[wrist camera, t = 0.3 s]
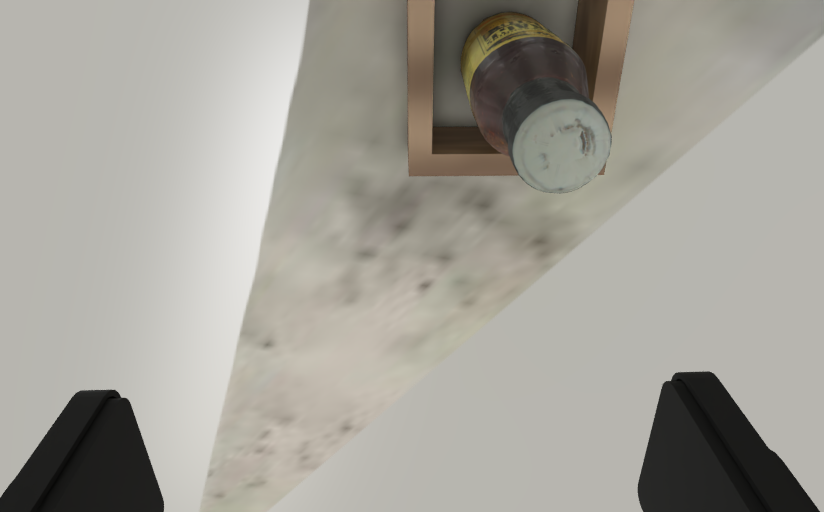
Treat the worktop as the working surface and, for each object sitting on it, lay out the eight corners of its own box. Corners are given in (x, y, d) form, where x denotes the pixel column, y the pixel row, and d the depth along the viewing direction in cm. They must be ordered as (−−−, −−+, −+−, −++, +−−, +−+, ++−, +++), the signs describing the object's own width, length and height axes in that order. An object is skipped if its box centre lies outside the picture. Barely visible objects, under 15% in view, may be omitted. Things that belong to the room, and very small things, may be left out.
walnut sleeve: (407, -49, 37) (408, -45, 32) (608, -49, 37) (641, -46, 32) (407, 146, 44) (408, 176, 38) (579, 145, 44) (604, 174, 38)
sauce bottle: (559, 21, 39) (685, 91, 22) (530, 109, 42) (620, 233, 25) (467, -3, 39) (522, 51, 21) (443, 90, 42) (475, 203, 24)
